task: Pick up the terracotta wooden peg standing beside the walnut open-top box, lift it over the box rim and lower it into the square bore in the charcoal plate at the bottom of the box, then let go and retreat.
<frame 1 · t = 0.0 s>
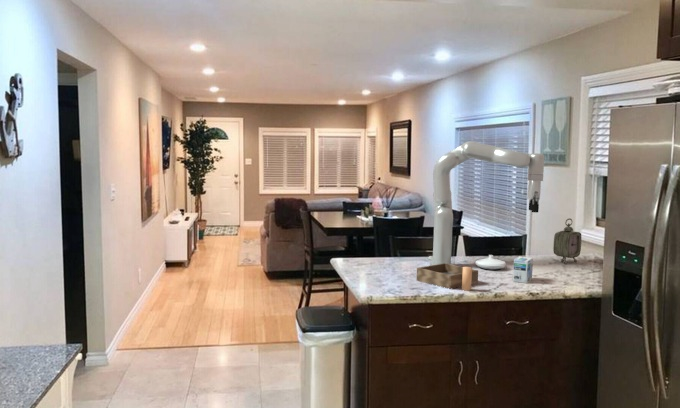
hand: (533, 211, 291), 31 cm above the counter, tool pointing down, fingers open, 9 cm apart
vase: (490, 268, 300), on the counter
tabletop clock: (565, 262, 321), on the counter
peg: (466, 289, 252), on the counter
light bulb box: (522, 281, 273), on the counter
bore box: (446, 281, 266), on the counter
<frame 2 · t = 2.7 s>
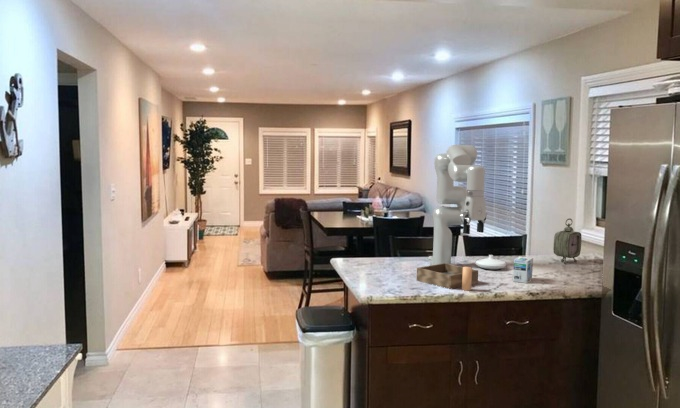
hand: (473, 232, 251), 25 cm above the counter, tool pointing down, fingers open, 9 cm apart
nothing on the counter moved.
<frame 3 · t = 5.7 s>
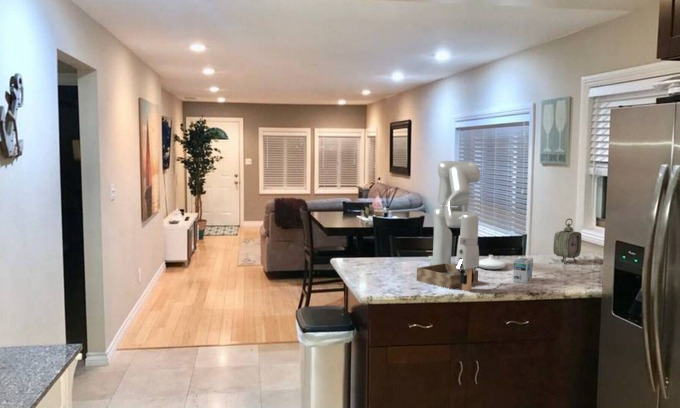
hand: (466, 282, 251), 3 cm above the counter, tool pointing down, fingers closed on peg, 4 cm apart
peg: (466, 289, 252), on the counter, touching gripper
everything else where it was.
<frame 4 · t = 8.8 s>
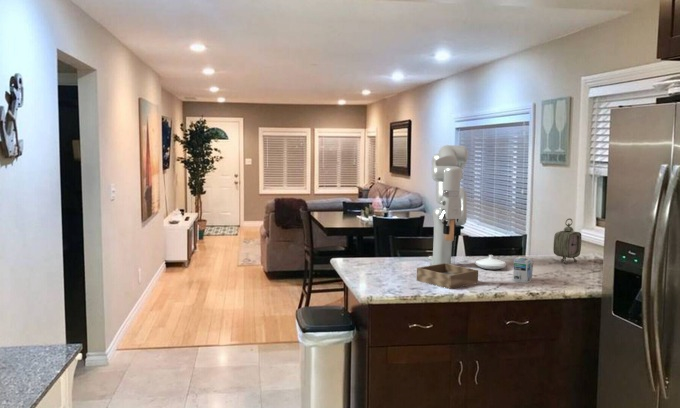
hand: (449, 233, 264), 23 cm above the counter, tool pointing down, fingers closed on peg, 4 cm apart
peg: (449, 240, 264), point 20 cm above the counter, touching gripper
everything else where it was.
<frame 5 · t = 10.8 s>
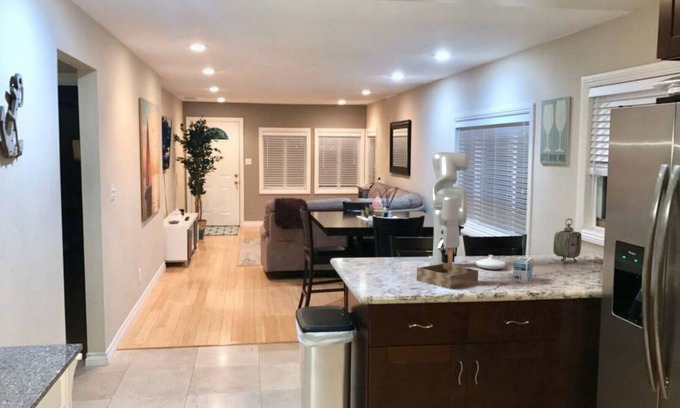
hand: (447, 261, 265), 10 cm above the counter, tool pointing down, fingers closed on peg, 4 cm apart
peg: (447, 268, 265), point 6 cm above the counter, touching gripper
everything else where it was.
when the fingers open (4 cm above the counter, at t = 12.1 s): peg stays where it is, resting in bore box.
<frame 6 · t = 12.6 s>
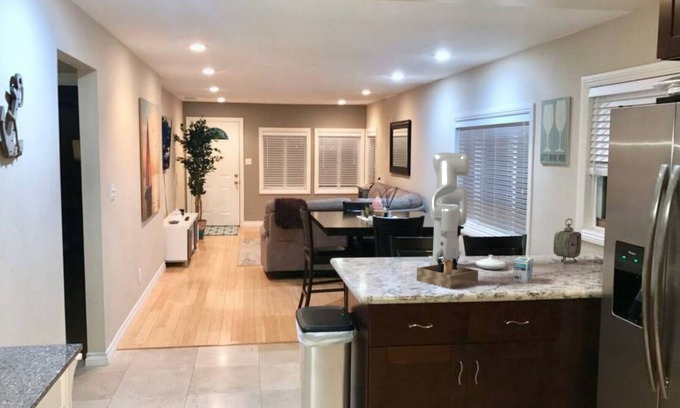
hand: (447, 270, 266), 5 cm above the counter, tool pointing down, fingers open, 9 cm apart
peg: (447, 281, 266), resting in bore box
everything else where it was.
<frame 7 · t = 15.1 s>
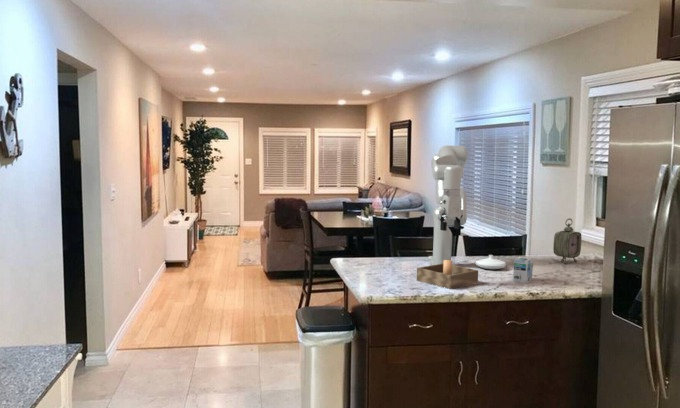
hand: (450, 229, 265), 25 cm above the counter, tool pointing down, fingers open, 9 cm apart
nothing on the counter moved.
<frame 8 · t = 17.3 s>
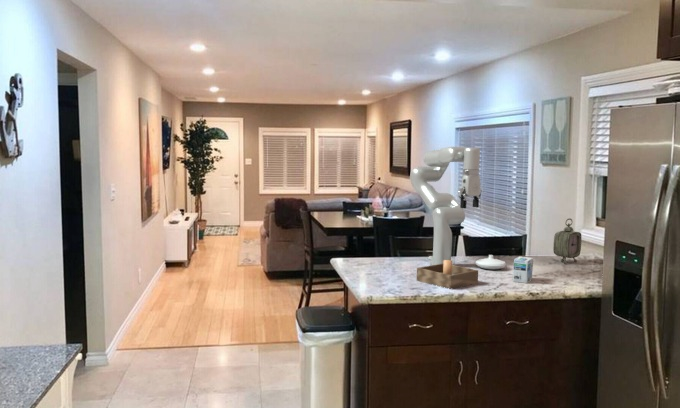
hand: (469, 207, 280), 33 cm above the counter, tool pointing down, fingers open, 9 cm apart
nothing on the counter moved.
at the end: peg 0.0 cm off-centre on the bore box, point 0.0 cm above the bore box's base; peg tilted 0°; the gripper is holding nothing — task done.
